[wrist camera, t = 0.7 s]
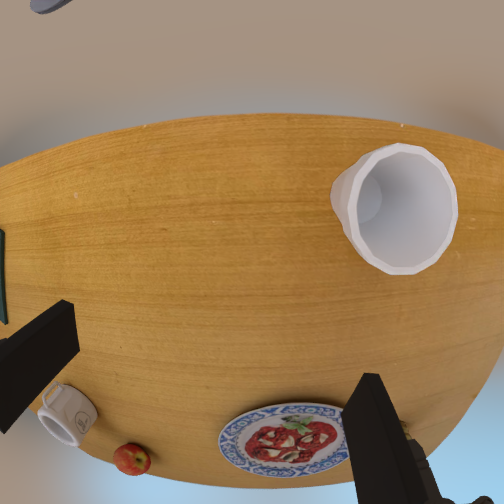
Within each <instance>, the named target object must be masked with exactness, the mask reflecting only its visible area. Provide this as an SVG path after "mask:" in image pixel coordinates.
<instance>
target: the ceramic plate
mask: <svg viewBox="0 0 504 504" xmlns="http://www.w3.org/2000/svg"><path fill="white" fill-rule="evenodd" d="M342 411H343V409H342V408H339V407H336V406H331V405H327V404H320V403H285V404H278V405H272V406H266V407H263V408H259V409H256V410H252V411H250V412H247V413H245V414H242V415H240V416H238V417H236V418H235V419H233V420H232V421H230V422H229V423H228V424H227V425H226V426H225V427H224V428H223V429H222V431H221V433H220V435H219V439H218V445H219V449H220V451H221V453H222V455H223V456H224V457H225V458H226V459H227V460H228V461H229V462H231V463H232V464H233V465H235V466H236V467H238V468H241V469H243V470H245V471H247V472H250V473H254V474H258V475H262V476H268V477H280V478H285V477H299V476H307V475H311V474H315V473H319V472H322V471H325V470H328V469H330V468H332V467H334V466H336V465H338V464H340V463H341V462H343V461H345V460H346V459H347V458H349V457H350V456H349V452H348V447H347V442H346V437H345V433H344V428H343V424H342V419H341V415H340V414H341V412H342Z"/></svg>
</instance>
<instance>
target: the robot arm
mask: <svg viewBox="0 0 504 504" xmlns="http://www.w3.org/2000/svg"><path fill="white" fill-rule="evenodd" d="M79 351H80V347H79V341H78V335H77V328H76V320H75V312H74V304H72V303H70V302H67V301H65V300H63V299H62V300H60V301H59V302H57V303H56V304H55V305H53V306H52V307H50V308H49V309H47V310H46V311H45V312H43V313H42V314H40V315H39V316H37V317H36V318H35V319H33V320H32V321H31V322H29V323H28V324H26V325H25V326H24V327H22V328H21V329H20V330H18V331H17V332H16V333H14V334H13V335H12V336H10V337H9V338H8V339H7V338H4V339H1V340H0V431H1V432H2V433H3V434H5V433H6V432H7V430H8V429H9V428H10V427H11V425H12V424H13V423H14V422H15V421H16V420H17V419H18V417H19V416H20V415H21V414H22V413H23V412H24V410H25V409H26V408H27V407H28V406H29V405H30V404H31V403H32V402H33V400H34V399H35V398H36V397H37V396H38V395H39V394H40V393H41V392H42V390H43V389H44V388H45V387H46V386H47V385H48V384H49V383H50V382H51V381H52V380H53V379H54V377H55V376H56V375H57V374H58V373H59V372H60V371H61V370H62V369H63V368H64V367H65V366H66V365H67V364H68V363H69V362H70V361H71V360H72V359H73V358H74V356H75V355H76V354H77V353H78V352H79ZM340 415H341V419H342V424H343V428H344V433H345V437H346V442H347V447H348V452H349V456H350V461H351V466H352V471H353V477H354V482H355V487H356V493H357V498H358V504H455V503H454V502H453V501H452V500H450V499H446V498H442V496H441V494H440V492H439V489H438V486H437V484H436V481H435V478H434V476H433V473H432V471H431V468H430V467H429V463H428V460H426V456H425V453H424V451H423V448H422V447H421V446H420V445H419V443H418V442H417V441H416V440H415V439H409V440H407V437H406V435H405V433H404V430H403V428H402V425H401V423H400V421H399V418H398V416H397V413H396V411H395V409H394V406H393V404H392V402H391V400H390V397H389V395H388V393H387V391H386V388H385V386H384V384H383V382H382V380H381V378H380V375H379V374H374V373H364V374H363V376H362V377H361V379H360V381H359V383H358V385H357V387H356V388H355V390H354V392H353V394H352V395H351V397H350V399H349V401H348V402H347V404H346V406H345V407H344V409H343V411H342V412H341V414H340ZM469 504H494V502H493V501H492V499H491V498H489V497H488V496H480V497H479V498H478V499H476V500H475V501H474V502H472V503H469Z"/></svg>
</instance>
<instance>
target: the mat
mask: <svg viewBox="0 0 504 504" xmlns="http://www.w3.org/2000/svg"><path fill="white" fill-rule="evenodd" d="M4 234H5V232H3V231H2V230H1V229H0V320H1V321H2V322H3V323H4V324H5V325H6V324H8V320H7V311H6V301H5V287H4Z"/></svg>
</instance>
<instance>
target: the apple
mask: <svg viewBox="0 0 504 504" xmlns="http://www.w3.org/2000/svg"><path fill="white" fill-rule="evenodd" d="M113 461H114V464H115V466H116V467H117V468H118V469H119V470H120V471H121V472H123V473H125V474H127V475H132V476H137V475H141V474H143V473H145V472H146V471H147V470H148V469H149V467H150V465H151V461H150V457H149V455H148V454H147V453H146V452H145V451H144V450H143V449H142V448H140V447H138V446H136V445H133V444H125V445H122V446H120V447H119V448H118V449H117V450H116V451H115V453H114V456H113Z"/></svg>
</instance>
